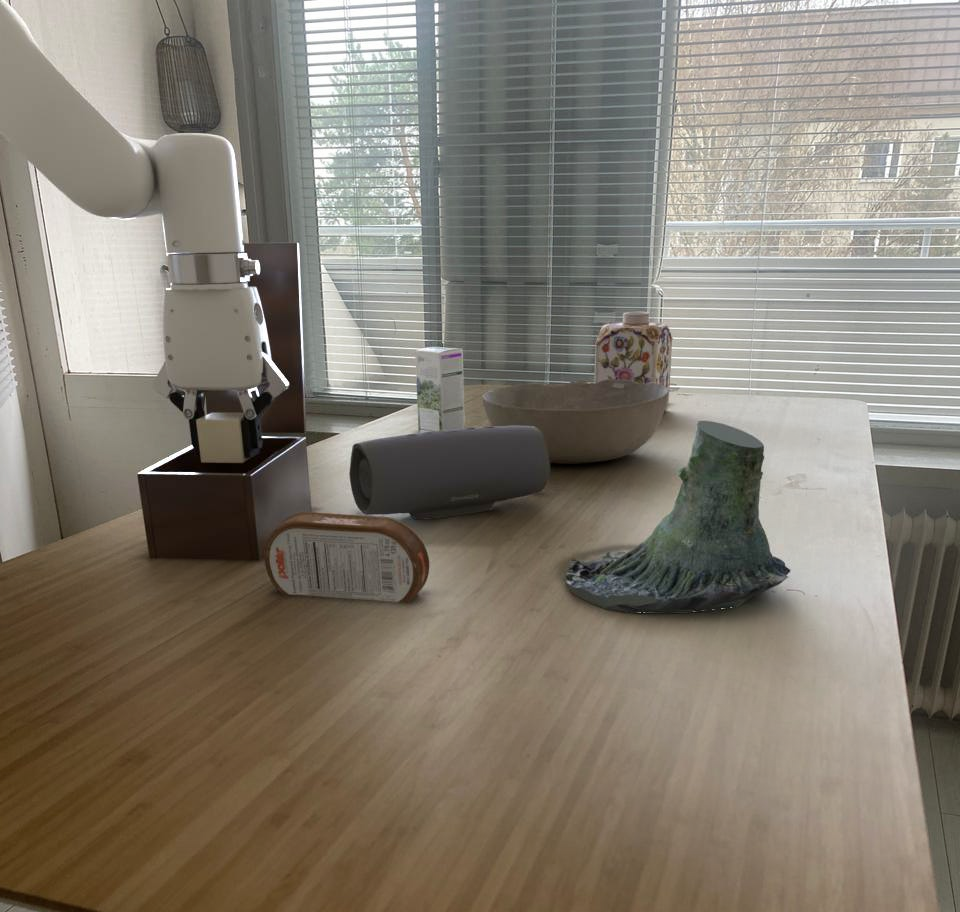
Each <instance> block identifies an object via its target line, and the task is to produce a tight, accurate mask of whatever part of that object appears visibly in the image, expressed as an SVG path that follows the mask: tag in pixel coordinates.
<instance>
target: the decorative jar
mask: <svg viewBox="0 0 960 912" xmlns="http://www.w3.org/2000/svg"><path fill="white" fill-rule="evenodd" d="M599 330H600V331H599V333H598V335H597V337H596V338H597V339H596V340H595V351H594V372H593V383H598V382H600V381H602V380H606V379H613V380H632V381H634V382H637V383H639V382H640V383H645V384H646V383H649V382H652V383H658V384H662V385H664V386H665V387H667V388H668V390H669V391H670V387H671V386H670V385H671V373H672V372H671V371H672V348H673V340H674V339H673V337H672V333H671V331H670V328H669V325H668V324H665V323H663V322H653V321H650V313H649V312H648V311H628V312H623V313H622V321H618V322H610V323H607V324H603V325H602V326H601V328H600V329H599ZM669 401H670V393H669V394H668V399H667V404H666V407H665V410H666V411H667V410H668V408H669ZM665 410H664V412H665Z"/></svg>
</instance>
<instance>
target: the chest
mask: <svg viewBox="0 0 960 912" xmlns="http://www.w3.org/2000/svg"><path fill="white" fill-rule="evenodd" d="M262 441H263V444H262V447H261V448H260V451H259V453H258V454H257V455H255V456H254V457H252V458H249V459H248V460H246V461H244V462H243V463H202V462H201V457H197V455H196V448H193V446H192V444H191V445H190V446H188V447H186V448H184V449H182V450H180V451H178V452H175V453H174V454H172V455H170V456H169V457H166V458H164V459H162V460H160V461H158V462H156V463H154V464H153V465H150V466H149V467H147V468H145V469H144V470H141V471H140V472H137V473H136V476H137V477H136V478H137V483H138V490H139V498H140V503H141V511H142V516H143V517H142V518H143V524H144V530H145V538H146V545H147V552H148V557H149V559H179V560H180V559H181V560H182V559H183V560H222V561H223V560H224V561H261V560H262V559H264V548H265V544H266V542H267V540H268V538H269V536H270V535H271V533H272V532H273V531H274V530H275V529H276V528H277V527H278V526H279V525H280V524H281V522H282V521H284V520H285V519H286V518H288V517H289V516H291V515H293V514H296V513H300V512H313V510H312V498H311V484H310V473H309V463H308V462H309V460H308V447H307V437H306V436H262Z"/></svg>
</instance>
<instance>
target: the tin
mask: <svg viewBox="0 0 960 912" xmlns="http://www.w3.org/2000/svg"><path fill="white" fill-rule="evenodd" d="M263 561H264V566H265V570H266V573H267V576H268V578H269V580H270V582H271V583H272V585H273V586H274V588H275V589H277V591H278V592H279V593H280V594H282V595H289V596H290V595H291V596H292V595H294V596H295V595H296V596H297V595H298V596H310V597H312V596H313V597H323V598H324V597H326V598H336V599H337V598H338V599H349V600H350V599H352V600H364V601H365V600H366V601H367V600H368V601H381V602H382V601H384V602H394V603H400V604H402V603H403V604H408V603H411V602H412V600H413V599H414V598H415V597H416V596H417V595H418V594H419V593H420V592H421V590H422V589H423V588H424V586H425V585H426V583H427V581H428V578H429V573H430V558H429V553H428V550H427V547H426V546H425V544H424V542H423V540H422V539H421V537H420V536H419V534H418V533H417V532H416V531H415V530H414V529H412V528H411V527H410V526H409V525H407V524H406V523H404V522H402V521H400V520H398V519H395V518H393V517H387V516H379V515H378V516H377V515H361V514H347V513H344V514H343V513H331V512H319V511H318V512H317V511H312V512H300V513H296V514H293V515H291V516H289V517H288V518H286V519H285V520H284V521H282V522H281V524H280V525H279V526H278V527H277V528H276V529H275V530H274V531H273V532H272V533H271V535H270V536H269V538H268V540H267V542H266V544H265V548H264V557H263Z"/></svg>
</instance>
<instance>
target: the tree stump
mask: <svg viewBox="0 0 960 912" xmlns="http://www.w3.org/2000/svg"><path fill="white" fill-rule="evenodd" d="M696 424H697V425H696V430H695V436H694V440H693V442H692V446H691V453H690V456H689V459H688V462H687V466H685V467H682V468H681V469H679V470H678V473H677V475H678V477H679V478H680V480H681V485H680V487H679V491H678V494H677V496H676V499H675V504H674V507H673V509H672V510H671V511H670V513H668V514H666V515H665V516H664V517H663V518H662V519H661V520H660V522H659V523H658V524H657V526H656V527H655V528H654V530H653V531H652V532H651V535H649V536H648V537H647V538H646V539H644V540H643V541H642V542H641V543H639V544H638V545H636V546H635V547H634V548H633V549H631V550H628V551H627V552H626V551H618V552H614V553H610V552H609V551H607V552H606V553H605V555H601V556H600V557H597V558H593V559H589V560H586V561H585V560H583V561H579V560H577V558H573V557H572V558H571V562H570V563H569V566H568V571H566V573H565V585H566V587H567V589H568V591H569V592H570V593H572V594H573V595H575V596H576V597H577V598H579V599H582V600H584V601H586V602H589V603H591V604H593V605H596V606H598V607H600V608H603V609H605V610H610V611H616V610H617V612H623V611H625V612H624V613H630V612H634V613H633V614H636V613H635V612H641V613H640V614H644V613H643V612H693V611H702V610H712V609H721V608H730V607H736V608H737V607H739V606H740V605H742V604H743V603H744V602H746V601H748V600H749V599H750V598H752V597H754V596H757V595H759V594H762V593H763V592H766V591H768V590H770V589H772V588H775V587H777V586H779V585H780V584H781V583H783V582H785V580H786V579H788V578H789V576H788V574H790V573H791V571H792V569H790V568H789V567H787V566H786V563H785V561H783V560H782V559H780V558H779V557H777V556H775V555H774V556H773V554H772V552H771V548H770V547H771V546H770V543H769V539H768V537H767V533H766V531H765V529H764V527H763V525H762V523H761V520H760V509H759V508H760V507H759V505H760V491H761V480H762V478H763V475H764V472H763V471H762V467H763V463H764V461H765V454H764V452H765V448H764V447H765V444H764V443H763V442H762V441H761V440H760V439H758V438H757V437H755V436H754V435H752V434H750V433H748V432H746V431H744V430H741V429H739V428H736V427H733V426H731V425H728V424H726V423H725V424H724V423H720V422H716V421H710V420H698V421H697V423H696ZM730 609H731V608H730ZM618 610H619V611H618ZM721 610H722V609H721ZM626 611H627V612H626ZM712 611H713V610H712ZM702 612H703V611H702ZM693 613H694V612H693Z"/></svg>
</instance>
